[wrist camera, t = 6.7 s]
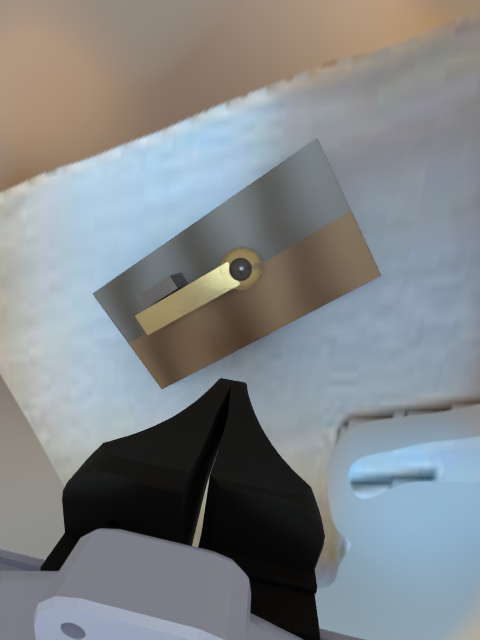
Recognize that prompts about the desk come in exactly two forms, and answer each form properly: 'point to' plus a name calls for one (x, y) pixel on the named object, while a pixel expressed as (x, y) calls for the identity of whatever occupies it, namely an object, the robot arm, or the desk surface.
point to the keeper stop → (162, 290)
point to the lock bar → (205, 289)
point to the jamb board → (277, 273)
